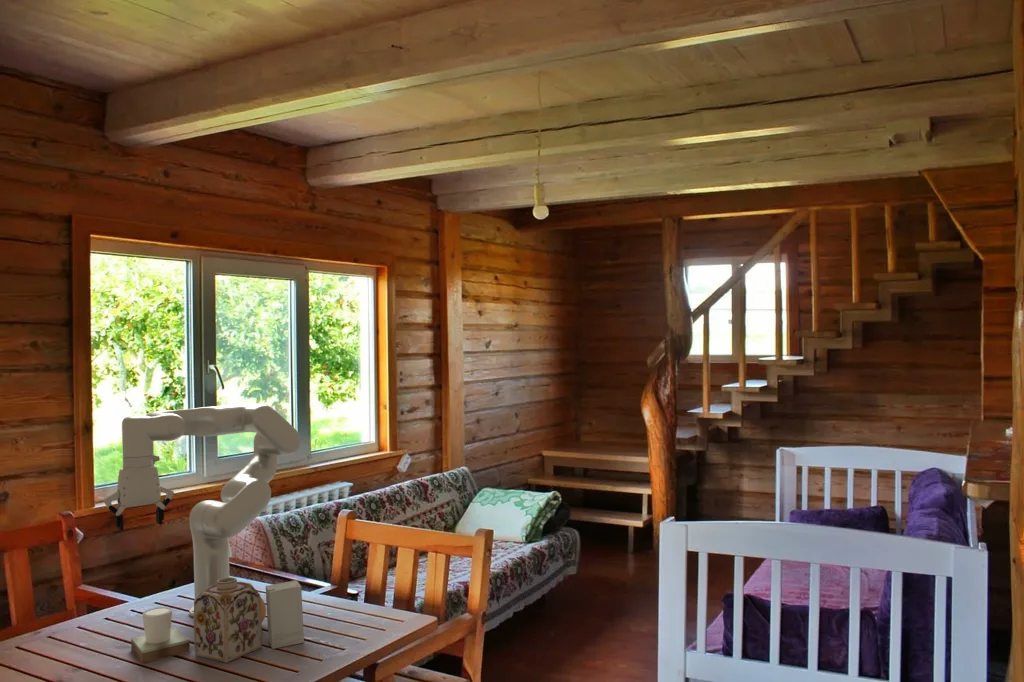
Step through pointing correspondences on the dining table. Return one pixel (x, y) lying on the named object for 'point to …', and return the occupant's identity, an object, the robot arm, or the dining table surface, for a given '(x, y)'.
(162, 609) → the beige cylinder
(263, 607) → the egg
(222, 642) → the decorative jar
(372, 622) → the dining table surface
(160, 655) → the plinth
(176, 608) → the dining table surface
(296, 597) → the skincare box
